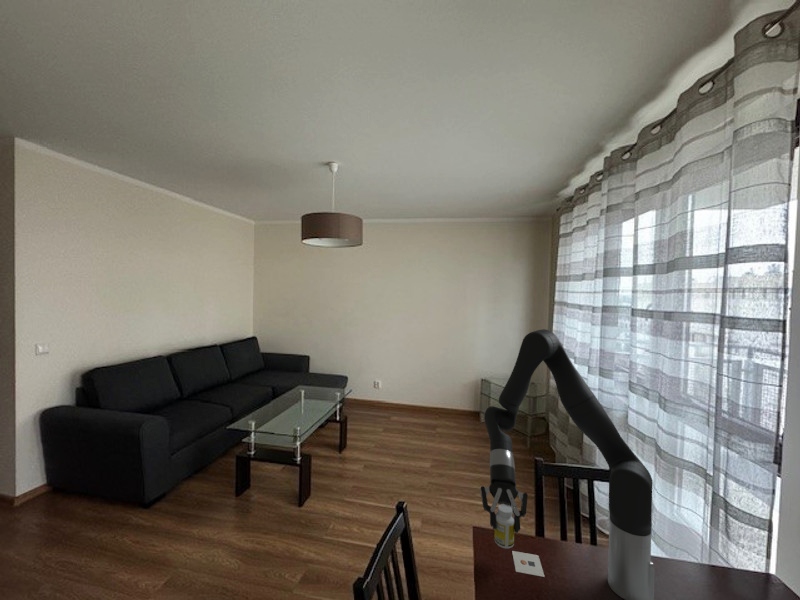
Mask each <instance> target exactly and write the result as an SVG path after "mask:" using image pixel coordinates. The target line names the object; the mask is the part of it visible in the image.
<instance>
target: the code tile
mask: <svg viewBox="0 0 800 600" xmlns="http://www.w3.org/2000/svg"><path fill="white" fill-rule="evenodd" d="M511 552H512V557H513V558H512V559H513V564H514V568H515V569H514V570H515V572H516V573H520V574H521V573H522V574H527V575H532V576H537V577H540V578H541V577H544V578H546V577H545V574H544V570H543V566H542V563H541V559H540V556H539V555H537V554H532V553H528V552H527V553H525V552H522V551H521V552H520V551H515V550H512V551H511Z"/></svg>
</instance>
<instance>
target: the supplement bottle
mask: <svg viewBox="0 0 800 600" xmlns="http://www.w3.org/2000/svg"><path fill="white" fill-rule="evenodd" d="M495 516H496V529H494V536H493V537H494V539H493V540H494V542H495V544H496V545H497V546H498V547H500V548H502V549H506V550H507V549H511V548H513V547H514V545H515V531H514V524H515V520H514V515H513V512H512V508H511V507H510V506H509V505H506V504H499V505H497V512H495Z"/></svg>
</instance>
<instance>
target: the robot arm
mask: <svg viewBox="0 0 800 600" xmlns="http://www.w3.org/2000/svg"><path fill="white" fill-rule="evenodd" d="M542 362H544V364H545V365H546V367H547V368H548V370H549V371H550V372H551V375H552V377H553V379H554V383H555V386H556V390H557V394H558V396H559V400H560V402H561V404H562V406H563V408H564V410H565V411H566V412H567V414H568V416H569V417H570V419H571V420H572V422H573V423H574V425H575V426H576V427H577V428H578V429H579V430H580V432H581V433H583V434H584V435H585V436H586V437H587V438H588V439H589V440H591V442H592V443H593V444H594V445H595V446H596V448H597V449H598V450H599V451H600V453H601V455H602V457H603V458H604V460H605V462H606V464H607V465H608V467H609V469H610V475H609V480H608V481H609V482H608V511H609V516H608V517H609V525H608V531H609V532H608V556H607V557H608V558H607V559H608V560H607V583H608V586H609V587H610V589H611V590H612V591H613V593H615V594H616V595H617V596H619V597H620V598H622V599H623V600H655V599H654V598H655V597H654V596H655V595H654V594H655V591H654V590H655V564H654V563H653V561H652V560H651V559H652V554H651V551H652V524H653V523H652V520H653V519H652V518H653V517H652V516H653V515H652V510H653V507H652V506H653V486H654V485H653V478H652V475H651V473H650V471H649V469H647V467H646V465H644V464H643V463H642V461H641V460H640V459H639V458H638V456H637V455H636V454H635V453H634V452H633V450H632V449H631V447H629V445H628V444H627V443H626V442H625V440H624V438H623V437H622V436H621V434H620V432H619V431H618V430H617V427H616V425H615V424H614V423H613V421H612V420H611V418H610V416H609V415H608V413H607V411H606V410H605V408H604V407H603V405H602V404H601V403H600V401H599V399H598V398H597V397H596V394H594V392H593V391H592V389H591V388H590V387H589V386H588V384H587V382H586V381H585V380H584V378H583V377H582V376H581V373H580V372H579V371H578V370H577V369H576V367H575V366H574V364H573V362H572V360H571V359H570V357H569V356H568V354H567V352H566V350H565V348H564V346H563V344H562V342H561V341H560V339H559V337H558V336H557V335H556V334H555V333H554V332H552V331H550V330H548V329H543V328H542V329H538V330H534V331H531V332H529V333H527V334H526V335H525V336H524V337H523V339H522V342H521V345H520V347H519V351H518V355H517V358H516V361H515V363H514V367H513V369H512V371H511V373H510V376H509V378H508V380H507V381H506V384H505V386H504V387H503V389H502V391H501V393H500V395H499V397H498V403H499V405H500V406H501V407H502V408H501V407H496V406H495V405H494V406H492V405H491V406H489V407H487V408H486V410H485V412H484V419H483V420H484V424H485V426H486V427H485V428H486V429H487V435H488V437H489V438H488V439H489V441H490V446H489V447H490V448H489V449H490V455H489V471H490V472H489V473H490V475H489V476H490V479H489V480H490V484H489V486H484V485H481V486H480V490H479V492H480V496H481V501H482V503H481V504H482V507H483V510H484V511H486V512H488V513H489V526H490V527H492V530H495V529H496V516H495V515H496V508H497V507H498V504H499V505H500V504H505V505H508V506H510V507H511V508H512V515H513V517H514V520H515V524H514V534H518V533H519V532H520V530H521V519H520V518H524V517H526V514H527V507H528V506H527V505H528V493H527V492H521V491H519V489H518V488H517V482H516V481H517V479H516V468H515V458H514V453H513V450H514V449H513V440H512V437H511V436H510V435H509V434H507V433H506V432H510V431H512V430H514V429H515V426H516V423H517V419H518V418H517V416H518V413H519V409H520V406H521V404H522V402H523V401H524V399H525V397H526V395H527V393H528V391H529V387H530V384H531V383H530V382H531V379H532V376H533V374H534V373H535V371H536V370H537V368H538V367H540V364H541V363H542ZM489 493H490V494H491V496H492V498H493V501H492V504H491V505H489V503H488V499H487V496H488V495H489ZM517 497H518V498H519V501H520V502H521V504H520V510H519V509H518V506H517V503H516V501H515V500H516V498H517Z"/></svg>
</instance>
